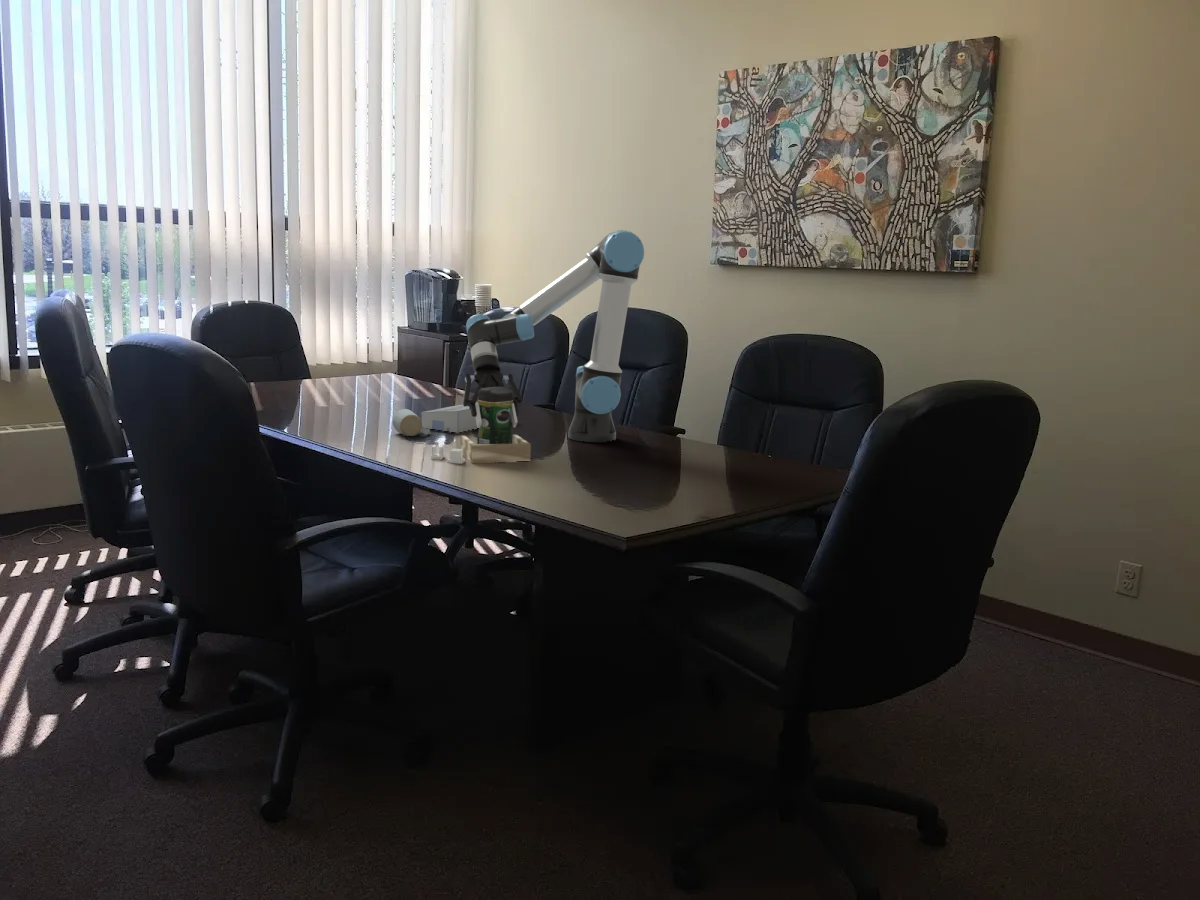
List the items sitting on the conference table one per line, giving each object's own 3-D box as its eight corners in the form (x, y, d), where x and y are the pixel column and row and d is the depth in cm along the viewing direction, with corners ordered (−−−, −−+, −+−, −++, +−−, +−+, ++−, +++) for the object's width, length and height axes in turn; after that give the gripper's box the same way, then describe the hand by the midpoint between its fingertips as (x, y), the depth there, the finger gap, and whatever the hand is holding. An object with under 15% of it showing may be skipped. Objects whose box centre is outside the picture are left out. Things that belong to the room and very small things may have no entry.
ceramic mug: (400, 438, 293) (400, 413, 291) (392, 433, 300) (392, 408, 298) (433, 437, 298) (434, 412, 297) (424, 432, 305) (425, 408, 304)
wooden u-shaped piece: (460, 452, 275) (460, 435, 274) (516, 451, 281) (516, 434, 280) (472, 463, 261) (472, 445, 260) (530, 461, 267) (530, 444, 266)
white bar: (472, 418, 338) (472, 396, 336) (507, 422, 332) (508, 401, 330) (420, 429, 311) (420, 406, 310) (457, 434, 305) (458, 411, 304)
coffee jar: (498, 448, 278) (500, 384, 274) (516, 453, 272) (518, 387, 269) (471, 451, 271) (473, 386, 267) (489, 456, 266) (491, 389, 262)
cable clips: (437, 455, 269) (437, 443, 269) (470, 462, 263) (470, 449, 262) (425, 458, 265) (425, 446, 265) (458, 464, 259) (458, 452, 258)
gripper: (519, 369, 285) (532, 431, 274) (445, 369, 278) (455, 433, 266) (525, 353, 280) (538, 416, 268) (449, 352, 272) (460, 417, 260)
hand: (497, 424), depth 267 cm, fingers closed on coffee jar, 9 cm apart
